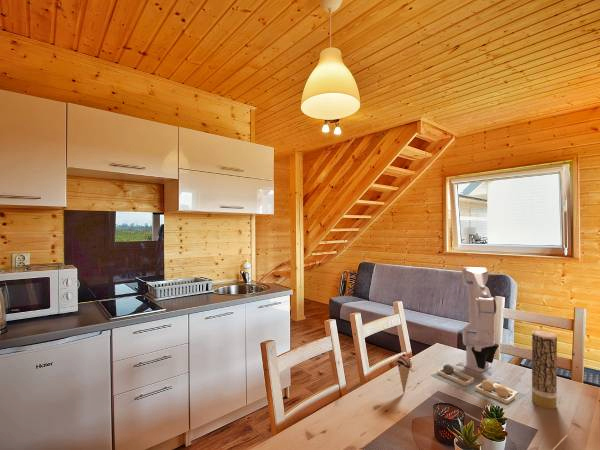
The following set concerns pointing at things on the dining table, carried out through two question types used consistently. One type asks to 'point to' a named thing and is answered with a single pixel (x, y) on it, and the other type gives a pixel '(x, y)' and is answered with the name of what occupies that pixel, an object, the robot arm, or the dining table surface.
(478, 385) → the sorting board
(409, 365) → the ice cream cone
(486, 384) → the tan ball
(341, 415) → the dining table surface
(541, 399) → the bark log
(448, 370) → the charcoal ball
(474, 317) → the robot arm
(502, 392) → the tan ball
